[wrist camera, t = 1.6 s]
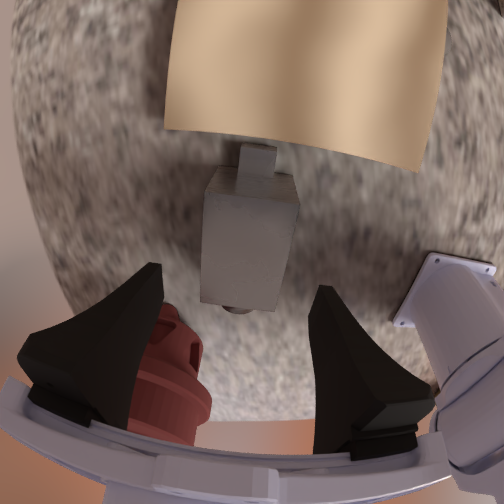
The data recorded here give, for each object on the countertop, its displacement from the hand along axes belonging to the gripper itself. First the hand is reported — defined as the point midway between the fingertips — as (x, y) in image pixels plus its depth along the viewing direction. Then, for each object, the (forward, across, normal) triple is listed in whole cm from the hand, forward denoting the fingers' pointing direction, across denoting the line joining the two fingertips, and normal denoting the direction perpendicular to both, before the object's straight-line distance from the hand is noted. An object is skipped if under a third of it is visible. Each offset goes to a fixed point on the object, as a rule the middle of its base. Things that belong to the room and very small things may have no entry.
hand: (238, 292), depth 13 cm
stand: (+7, -2, -13) cm, 15 cm away
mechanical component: (+7, +6, +12) cm, 15 cm away
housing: (+7, 0, 0) cm, 7 cm away
